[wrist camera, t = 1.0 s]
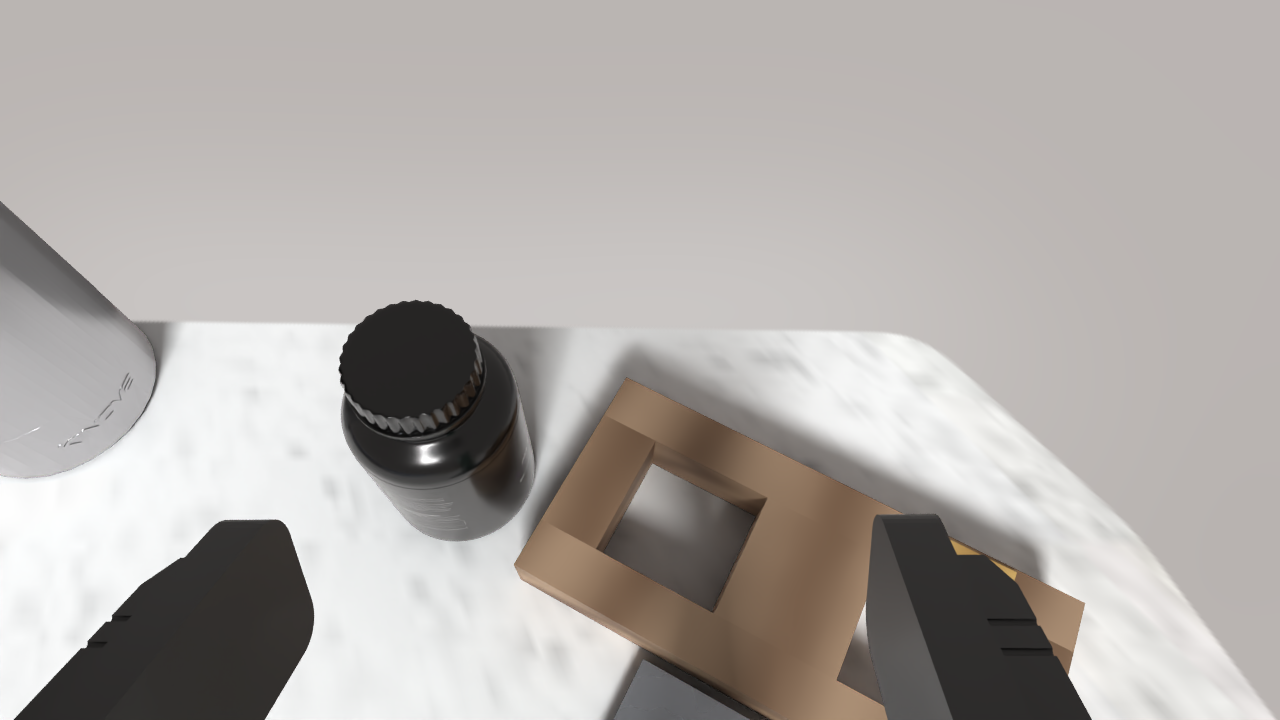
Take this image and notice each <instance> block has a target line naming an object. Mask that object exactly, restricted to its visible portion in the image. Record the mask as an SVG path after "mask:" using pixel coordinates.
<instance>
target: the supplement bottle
mask: <svg viewBox="0 0 1280 720" xmlns="http://www.w3.org/2000/svg"><path fill="white" fill-rule="evenodd" d="M339 359H340V363H341V364H340V366H339V373H340V375H341V378H340V383H341V385H342V387H343V388H344V390H345V391H344V395H343V399H342V406H341V423H342V429H343V433H344V437H345V439H346V442H347V444H348V446H349V448H350V450H351V451H352V453H353V455H354V456H355V458H356V459H357V461H358V462H359V463H360V464H361V466H362V467H363V468H364V469H365V471H366V472H367V473H368V474H369V475H370V477H371V478H372V479H373V480H374V482H375V483H376V484H377V485H378V486H379V488H380V489H381V490H382V491H383V493H384V494H385V495H386V496H387V498H388V499H389V500H390V501H391V502H392V504H393V505H394V506H395V507H396V509H397V510H398V511H399V512H400V513H401V515H402V516H403V517H404V518H405V519H406V520H407V521H408V522H409V523H410V524H411V525H412V526H414V527H415V528H416V529H418V530H419V531H421V532H422V533H424V534H426V535H428V536H431V537H434V538H437V539H441V540H446V541H467V540H473V539H477V538H481V537H483V536H486V535H489V534H491V533H493V532H495V531H496V530H498V529H500V528H501V527H503V526H504V525H505V524H507V523H508V522H509V521H510V520H511V519H512V518H513V517H514V516H515V515H516V514H517V513H518V512H519V510H520V509H521V508H522V506H523V505H524V503H525V501H526V500H527V498H528V496H529V493H530V491H531V488H532V484H533V480H534V472H535V462H534V454H533V449H532V444H531V440H530V436H529V432H528V428H527V423H526V419H525V415H524V411H523V407H522V402H521V398H520V394H519V390H518V386H517V382H516V380H515V377H514V374H513V372H512V370H511V368H510V365H509V364H508V362H507V361H506V359H505V358H504V357H503V355H502V354H501V353H500V352H499V351H498V350H497V349H496V348H495V347H494V346H493V345H492V344H490V343H489V342H488V341H486V340H485V339H483V338H481V337H479V336H477V335H476V334H473V333H472V330H471V327H470V325H469V324H467V323H465V322H464V320H463V318H462V317H461V316H460V315H456V314H455V313H454V312H453V310H452V309H448V308H445V307H444V306H442V305H441V304H433V303H432V302H429V301H425V302H421V301H418V300H415V301H411V302H406V301H402V302H400V303H398V304H390V305H388V306H387V307H386V308H383V309H378V310H377V311H376V312H375V313H374V314H372V315H369V316H367V317H366V318H365V319H364V321H363V322H361V323H360V324H358V325H356V327H355V330H354V331H353V332H352V333H351V334H350V335H349V336H348V340H347V342H346V343H345V344H344V345H343V353H342V354H341V356H340V358H339Z"/></svg>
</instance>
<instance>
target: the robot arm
mask: <svg viewBox="0 0 1280 720" xmlns="http://www.w3.org/2000/svg"><path fill="white" fill-rule="evenodd" d="M155 379H156V360H155V356H154V352H153V348H152V346H151V344H150V342H149V340H148V339H147V337H146V335H145V334H144V333H143V332H142V331H141V330H140V329H139V328H138V327H137V326H136V325H135V324H134V323H132V322H131V321H130V320H129V319H128V318H127V317H126V316H125V315H124V314H123V313H122V312H120V311H119V310H118V309H117V308H116V307H115V306H114V305H113V304H112V303H111V302H110V301H109V300H108V299H106V298H105V297H104V296H103V295H102V294H101V293H100V292H99V291H98V290H97V289H96V288H95V287H94V286H93V285H92V284H91V283H90V282H89V281H87V280H86V279H85V278H84V277H83V276H82V275H81V274H80V273H79V272H77V271H76V270H75V269H74V268H73V267H72V266H71V265H70V264H69V263H68V262H67V261H65V260H64V259H63V258H62V257H61V256H60V255H59V254H58V253H57V252H56V251H54V250H53V249H52V248H51V247H50V246H49V245H48V244H47V243H46V242H45V241H43V240H42V239H41V238H40V237H39V236H38V235H37V234H36V233H35V232H34V231H33V230H31V229H30V228H29V227H28V226H27V225H26V224H25V223H24V222H23V221H22V220H20V219H19V218H18V217H17V216H16V215H15V214H14V213H13V212H12V211H10V210H9V209H8V208H7V207H6V206H5V205H4V204H3V203H2V202H1V201H0V475H2V476H5V477H14V478H35V477H44V476H50V475H54V474H57V473H61V472H64V471H68V470H71V469H73V468H75V467H77V466H79V465H81V464H84V463H86V462H88V461H90V460H92V459H94V458H95V457H97V456H98V455H100V454H101V453H103V452H104V451H105V450H107V449H108V448H110V447H111V446H113V445H114V444H115V443H116V442H117V441H118V440H119V439H120V438H121V437H122V436H123V435H124V434H126V433H127V432H128V431H129V429H130V428H131V427H132V426H133V424H134V423H135V422H136V420H137V419H138V418H139V417H140V415H141V414H142V412H143V410H144V408H145V406H146V404H147V402H148V400H149V399H150V397H151V393H152V390H153V386H154V382H155ZM313 625H314V608H313V603H312V599H311V596H310V593H309V590H308V587H307V584H306V581H305V578H304V575H303V572H302V569H301V566H300V563H299V560H298V557H297V554H296V551H295V548H294V545H293V542H292V539H291V535H290V533H289V530H288V528H287V527H286V525H285V524H284V523H283V522H281V521H280V520H224V521H221V522H219V523H217V524H215V525H214V526H213V527H212V528H211V529H210V530H209V531H208V533H207V534H206V535H205V536H204V537H203V538H202V539H201V540H200V541H199V542H198V544H197V545H196V546H195V547H194V548H193V549H192V550H191V551H190V552H189V553H188V554H187V556H186V557H185V558H180V559H178V560H177V561H175V562H174V563H172V564H171V565H169V566H168V567H166V568H165V569H163V570H162V571H160V572H159V573H157V574H156V575H155V576H153V577H152V578H150V579H149V580H147V581H146V582H144V583H143V584H141V585H140V586H139V587H138V588H137V590H136V591H135V592H134V593H133V594H132V595H131V596H130V597H129V598H128V599H127V600H126V601H125V602H124V603H123V604H122V605H121V606H120V608H119V609H118V610H117V611H116V612H115V613H114V614H113V615H112V620H111V622H105V623H104V625H103V626H102V627H101V628H100V629H99V630H98V631H97V632H96V633H95V634H94V635H93V636H92V637H91V638H90V639H89V640H88V641H87V642H88V645H87V647H86V648H81V649H80V650H79V651H78V652H77V653H76V654H75V655H74V656H73V657H72V658H71V659H70V661H69V662H68V663H67V664H66V665H65V666H64V667H63V668H62V669H61V670H60V671H59V672H58V673H57V674H56V675H55V676H54V677H53V679H52V680H51V681H50V682H49V683H48V684H47V685H46V686H45V687H44V688H43V689H42V690H41V691H40V692H39V693H38V694H37V695H36V697H35V698H34V699H33V700H32V701H31V702H30V703H29V704H28V705H27V706H26V707H25V708H24V709H23V710H22V711H21V712H20V713H19V715H18V716H17V717H16V718H15V719H14V720H265V718H266V717H267V715H268V713H269V712H270V710H271V708H272V707H273V705H274V703H275V702H276V700H277V698H278V696H279V695H280V693H281V691H282V690H283V688H284V686H285V685H286V683H287V681H288V680H289V678H290V676H291V675H292V673H293V671H294V670H295V668H296V666H297V665H298V663H299V661H300V660H301V658H302V656H303V655H304V653H305V651H306V649H307V647H308V645H309V642H310V639H311V636H312V631H313ZM866 626H867V636H868V643H869V649H870V654H871V658H872V662H873V666H874V669H875V673H876V677H877V681H878V685H879V688H880V692H881V696H882V700H883V704H884V707H885V711H886V715H887V719H888V720H1092V719H1091V717H1090V715H1089V714H1088V712H1087V710H1086V708H1085V706H1084V704H1083V703H1082V701H1081V699H1080V697H1079V695H1078V693H1077V692H1076V690H1075V688H1074V686H1073V684H1072V682H1071V681H1070V679H1069V677H1068V675H1067V673H1066V671H1065V670H1064V668H1063V666H1062V664H1061V662H1060V660H1059V659H1058V657H1057V656H1054V654H1053V648H1052V646H1051V644H1050V642H1049V640H1048V638H1047V637H1046V635H1045V633H1044V631H1043V629H1042V627H1041V626H1038V625H1037V618H1036V616H1035V614H1034V613H1033V611H1032V609H1031V607H1030V605H1029V603H1028V602H1027V600H1026V598H1025V596H1024V594H1023V592H1022V591H1021V589H1020V587H1019V585H1018V584H1017V583H1016V582H1015V581H1014V580H1013V579H1012V578H1011V577H1009V576H1008V575H1007V574H1006V573H1005V572H1004V571H1003V570H1001V569H1000V568H999V567H998V566H997V565H996V564H995V563H993V562H992V561H991V560H990V559H989V558H988V557H987V556H985V555H957V553H956V551H955V549H954V547H953V545H952V543H951V540H950V538H949V536H948V534H947V532H946V530H945V527H944V525H943V523H942V521H941V519H940V518H939V517H938V515H936V514H881V515H876V516H875V518H874V521H873V527H872V538H871V550H870V562H869V574H868V586H867V598H866Z"/></svg>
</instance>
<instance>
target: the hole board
mask: <svg viewBox="0 0 1280 720" xmlns="http://www.w3.org/2000/svg"><path fill="white" fill-rule="evenodd" d="M652 463H653V464H655V465H657V466H659V467H661V468H663V469H665V470H667V471H668V472H670V473H672V474H674V475H676V476H678V477H680V478H682V479H684V480H686V481H688V482H690V483H692V484H694V485H696V486H698V487H700V488H702V489H704V490H706V491H707V492H709V493H711V494H713V495H715V496H717V497H719V498H721V499H723V500H725V501H727V502H729V503H731V504H733V505H735V506H737V507H739V508H741V509H743V510H745V511H747V512H748V513H750V514H752V515H754V516H756V517H755V520H754V522H753V524H752V526H751V528H750V530H749V532H748V535H747V537H746V539H745V541H744V543H743V545H742V548H741V550H740V552H739V554H738V556H737V558H736V561H735V563H734V565H733V567H732V569H731V571H730V573H729V576H728V578H727V580H726V582H725V584H724V586H723V589H722V591H721V593H720V595H719V597H718V599H717V602H716V604H715V606H714V608H713V610H712V612H710V611H709V610H707V609H705V608H703V607H701V606H699V605H698V604H696V603H694V602H692V601H690V600H688V599H687V598H685V597H683V596H681V595H679V594H677V593H676V592H674V591H672V590H670V589H668V588H666V587H665V586H663V585H661V584H659V583H657V582H655V581H654V580H652V579H650V578H648V577H646V576H644V575H642V574H641V573H639V572H637V571H635V570H633V569H631V568H630V567H628V566H626V565H624V564H622V563H620V562H619V561H617V560H615V559H613V558H611V557H609V556H608V555H606V554H604V553H603V552H604V550H605V548H606V546H607V544H608V543H609V541H610V539H611V537H612V535H613V534H614V532H615V530H616V528H617V526H618V524H619V523H620V521H621V519H622V517H623V515H624V514H625V512H626V510H627V508H628V506H629V504H630V503H631V501H632V499H633V497H634V495H635V494H636V492H637V490H638V488H639V486H640V484H641V483H642V481H643V479H644V477H645V475H646V474H647V472H648V470H649V468H650V466H651V464H652ZM881 514H903V513H901V512H899V511H897V510H895V509H893V508H891V507H889V506H887V505H885V504H883V503H880V502H878V501H876V500H874V499H872V498H870V497H868V496H866V495H864V494H862V493H860V492H858V491H856V490H854V489H852V488H850V487H848V486H846V485H844V484H842V483H840V482H838V481H836V480H834V479H832V478H830V477H828V476H826V475H824V474H822V473H820V472H818V471H816V470H814V469H811V468H809V467H807V466H805V465H803V464H801V463H799V462H797V461H795V460H793V459H791V458H789V457H787V456H785V455H783V454H781V453H779V452H777V451H775V450H773V449H771V448H769V447H767V446H765V445H763V444H761V443H759V442H757V441H755V440H753V439H751V438H749V437H747V436H744V435H742V434H740V433H738V432H736V431H734V430H732V429H730V428H728V427H726V426H724V425H722V424H720V423H718V422H716V421H714V420H712V419H710V418H708V417H706V416H704V415H702V414H700V413H698V412H696V411H694V410H692V409H690V408H688V407H686V406H684V405H682V404H680V403H677V402H675V401H673V400H671V399H669V398H667V397H665V396H663V395H661V394H659V393H657V392H655V391H653V390H651V389H649V388H647V387H645V386H643V385H641V384H639V383H637V382H635V381H633V380H631V379H629V378H627V377H626V379H625V381H624V382H623V384H622V386H621V387H620V389H619V391H618V392H617V394H616V396H615V397H614V399H613V401H612V402H611V404H610V406H609V407H608V409H607V411H606V412H605V414H604V416H603V417H602V419H601V421H600V422H599V424H598V426H597V427H596V429H595V431H594V432H593V434H592V435H591V437H590V439H589V440H588V442H587V444H586V445H585V447H584V449H583V450H582V452H581V454H580V455H579V457H578V459H577V460H576V462H575V464H574V465H573V467H572V469H571V470H570V472H569V474H568V475H567V477H566V479H565V480H564V482H563V484H562V485H561V487H560V489H559V490H558V492H557V494H556V495H555V497H554V499H553V500H552V502H551V504H550V505H549V507H548V509H547V510H546V512H545V514H544V515H543V517H542V519H541V520H540V522H539V524H538V525H537V527H536V529H535V530H534V532H533V534H532V535H531V537H530V539H529V540H528V542H527V544H526V545H525V547H524V548H523V550H522V552H521V553H520V555H519V557H518V558H517V560H516V562H515V563H514V566H515V568H516V570H517V572H518V574H519V576H520V578H521V580H523V581H525V582H527V583H529V584H530V585H532V586H534V587H536V588H537V589H539V590H541V591H543V592H544V593H546V594H548V595H550V596H552V597H553V598H555V599H557V600H559V601H560V602H562V603H564V604H566V605H567V606H569V607H571V608H573V609H575V610H576V611H578V612H580V613H582V614H583V615H585V616H587V617H589V618H590V619H592V620H594V621H596V622H598V623H599V624H601V625H603V626H605V627H606V628H608V629H610V630H612V631H614V632H615V633H617V634H619V635H621V636H622V637H624V638H626V639H628V640H629V641H631V642H633V643H635V644H637V645H638V646H640V647H642V648H644V649H645V650H647V651H649V652H651V653H652V654H654V655H656V656H658V657H660V658H661V659H663V660H665V661H667V662H668V663H670V664H672V665H674V666H675V667H677V668H679V669H681V670H683V671H684V672H686V673H688V674H690V675H691V676H693V677H695V678H697V679H699V680H700V681H702V682H704V683H706V684H707V685H709V686H711V687H713V688H714V689H716V690H718V691H720V692H722V693H723V694H725V695H727V696H729V697H730V698H732V699H734V700H736V701H737V702H739V703H741V704H743V705H745V706H746V707H748V708H750V709H752V710H753V711H755V712H757V713H759V714H760V715H762V716H764V717H766V718H768V719H769V720H888V719H887V715H886V711H885V707H884V706H883V705H881V704H879V703H878V702H876V701H874V700H872V699H870V698H868V697H867V696H865V695H863V694H861V693H859V692H857V691H856V690H854V689H852V688H850V687H848V686H846V685H844V684H843V683H841V682H839V681H837V677H838V675H839V672H840V669H841V666H842V664H843V661H844V658H845V656H846V653H847V650H848V648H849V645H850V642H851V640H852V637H853V634H854V632H855V629H856V626H857V623H858V621H859V618H860V615H861V613H862V610H863V607H864V605H865V602H866V598H867V586H868V574H869V562H870V550H871V538H872V527H873V521H874V518H875V516H876V515H881ZM949 538H950V540H951V543H952V545H953V547H954V549H955V551H956V553H957V555H985V556H987V557H988V558H989V559H990V560H991V561H992V562H993V563H995V564H996V565H997V566H998V567H999V568H1000V569H1001V570H1003V571H1004V572H1005V573H1006V574H1007V575H1008V576H1009V577H1011V578H1012V579H1013V580H1014V581H1015V582H1016V583H1017V584H1018V585H1019V587H1020V589H1021V591H1022V592H1023V594H1024V596H1025V598H1026V600H1027V602H1028V603H1029V605H1030V607H1031V609H1032V611H1033V613H1034V614H1035V616H1036V618H1037V625H1038V626H1041V627H1042V629H1043V631H1044V633H1045V635H1046V637H1047V638H1048V640H1049V642H1050V644H1051V646H1052V648H1053V654H1054V656H1057V657H1058V659H1059V660H1060V662H1061V664H1062V666H1063V668H1064V670H1065V671H1066V673H1067V675H1068V673H1069V669H1070V665H1071V661H1072V656H1073V652H1074V648H1075V644H1076V640H1077V635H1078V631H1079V627H1080V623H1081V618H1082V614H1083V610H1084V606H1085V603H1084V602H1081V601H1079V600H1077V599H1075V598H1073V597H1071V596H1069V595H1067V594H1065V593H1063V592H1061V591H1059V590H1057V589H1055V588H1053V587H1051V586H1049V585H1047V584H1045V583H1043V582H1041V581H1039V580H1037V579H1035V578H1033V577H1031V576H1029V575H1027V574H1025V573H1023V572H1021V571H1019V570H1017V569H1014V568H1012V567H1010V566H1008V565H1006V564H1004V563H1002V562H1000V561H998V560H996V559H994V558H992V557H990V556H988V555H986V554H984V553H982V552H980V551H978V550H976V549H974V548H972V547H970V546H968V545H966V544H964V543H962V542H960V541H958V540H956V539H954V538H952V537H950V536H949Z"/></svg>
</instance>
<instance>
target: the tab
mask: <svg viewBox="0 0 1280 720" xmlns="http://www.w3.org/2000/svg"><path fill="white" fill-rule="evenodd" d="M613 720H750V719H748V718H746V717H745V716H743V715H741V714H739V713H738V712H736V711H734V710H732V709H731V708H729V707H727V706H725V705H723V704H722V703H720V702H718V701H716V700H715V699H713V698H711V697H709V696H708V695H706V694H704V693H702V692H701V691H699V690H697V689H695V688H694V687H692V686H690V685H688V684H686V683H685V682H683V681H681V680H679V679H678V678H676V677H674V676H672V675H671V674H669V673H667V672H665V671H664V670H662V669H660V668H658V667H657V666H655V665H653V664H651V663H650V662H648V661H646V660H644V659H643V660H642V662H641V664H640V666H639V668H638V670H637V672H636V675H635V677H634V679H633V681H632V683H631V685H630V687H629V689H628V691H627V693H626V695H625V697H624V699H623V701H622V703H621V705H620V707H619V709H618V711H617V713H616V715H615V717H614V719H613Z"/></svg>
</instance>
